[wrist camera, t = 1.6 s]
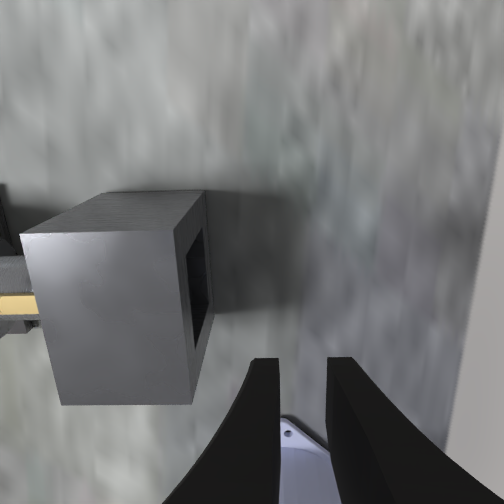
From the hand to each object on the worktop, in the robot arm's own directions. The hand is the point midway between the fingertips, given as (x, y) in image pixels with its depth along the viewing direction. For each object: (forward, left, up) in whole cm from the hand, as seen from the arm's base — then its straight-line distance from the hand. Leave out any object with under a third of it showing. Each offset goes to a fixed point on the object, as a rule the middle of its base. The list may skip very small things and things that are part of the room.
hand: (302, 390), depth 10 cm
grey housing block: (+4, +5, -10) cm, 12 cm away
